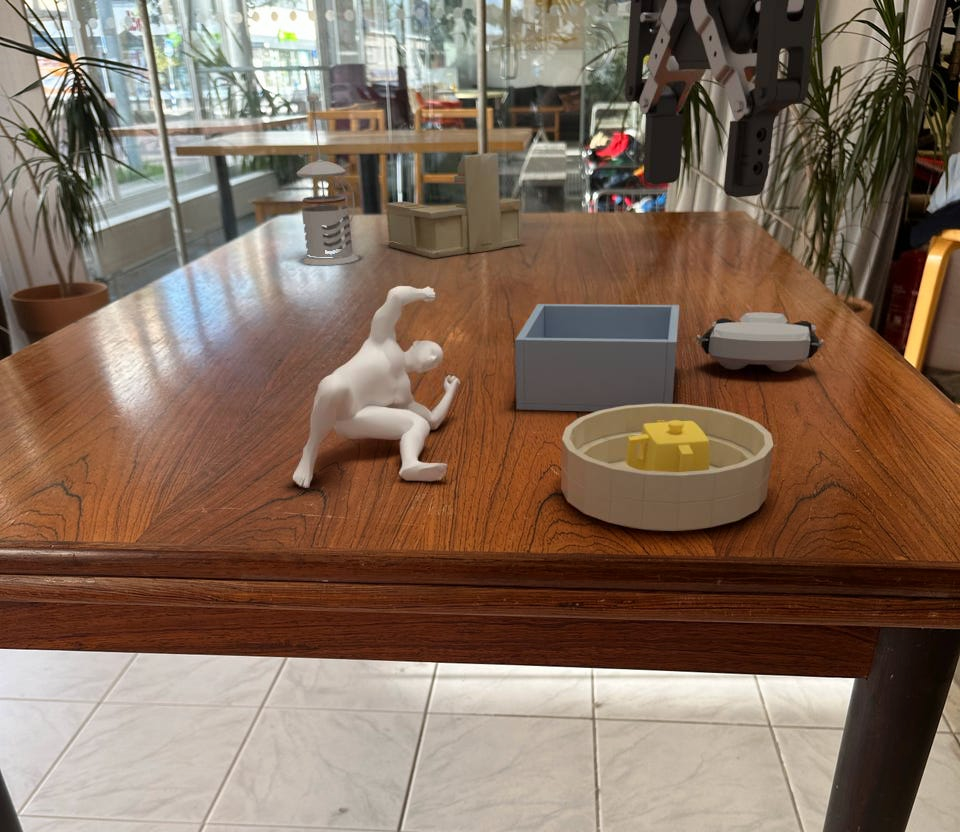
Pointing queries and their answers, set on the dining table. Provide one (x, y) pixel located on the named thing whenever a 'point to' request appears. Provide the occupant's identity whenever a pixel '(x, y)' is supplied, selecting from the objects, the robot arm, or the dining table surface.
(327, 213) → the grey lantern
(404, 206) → the toy kitchen set
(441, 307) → the dining table surface
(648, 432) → the teapot
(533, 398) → the bin
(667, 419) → the bowl
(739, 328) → the robot toy
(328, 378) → the person figurine
